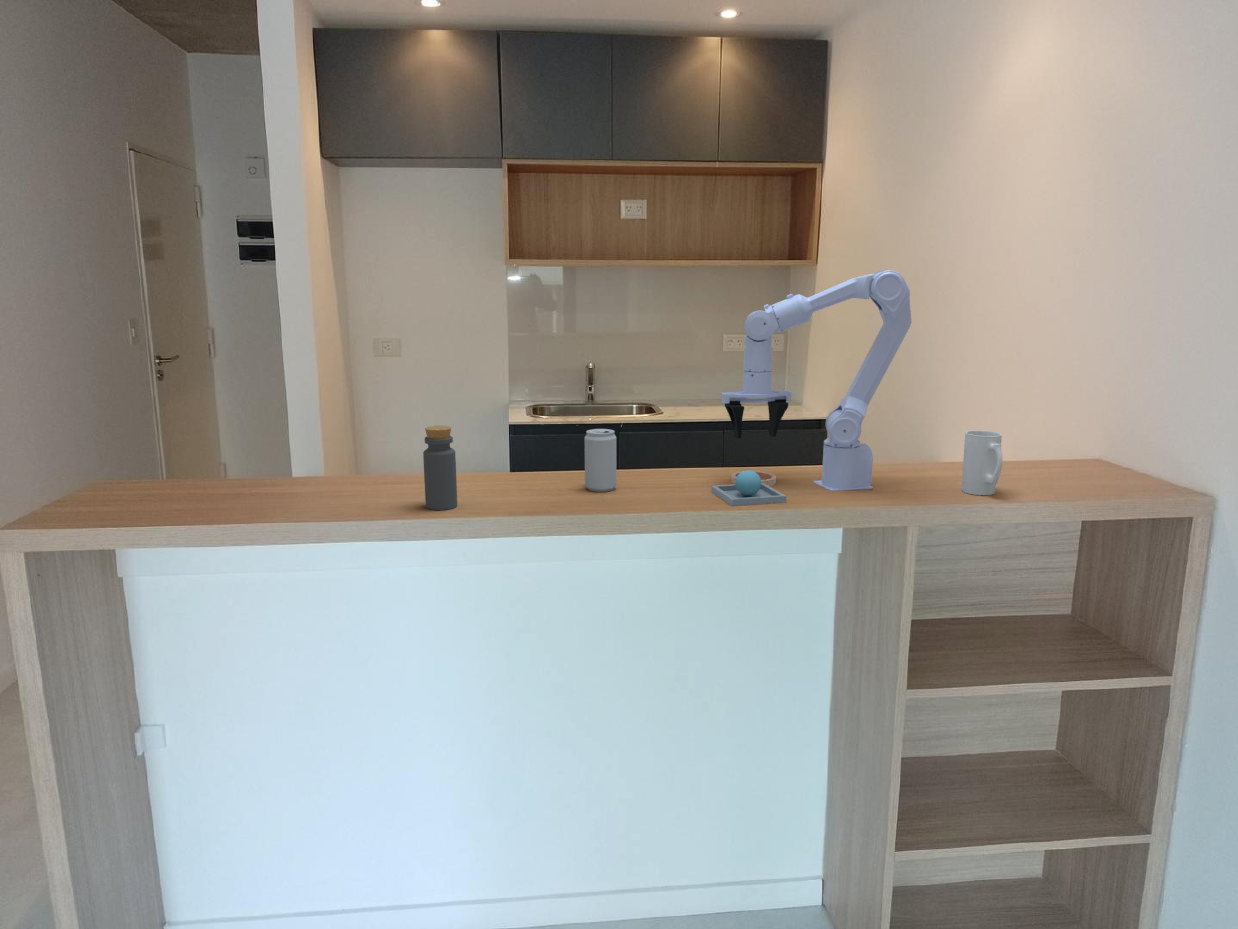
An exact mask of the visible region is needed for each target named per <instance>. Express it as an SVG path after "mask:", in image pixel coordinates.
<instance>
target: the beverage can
mask: <svg viewBox="0 0 1238 929" xmlns="http://www.w3.org/2000/svg"><path fill="white" fill-rule="evenodd" d="M585 432H586V435H585V436H584V486H585V488H587V489H588V491H589V492H598V493H599V492H600V493H601V492H603V493H604V492H611V491H613V490H614V489H615V488H616V487H617V436H616V434H615V430H613V429H608V428H594V429H593V428H592V429H587V430H586V431H585Z"/></svg>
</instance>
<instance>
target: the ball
mask: <svg viewBox="0 0 1238 929" xmlns="http://www.w3.org/2000/svg"><path fill="white" fill-rule="evenodd" d="M754 471H755V470H750V469H747V470H743V472H741V473H740V474H739V475H738V476H737V478H736V481H735V486H736V488H737V490H738V492H739V493H741V494H742V495H745V496H752V495H754V494H756V493H757V492H758V491H759V490H760V488H761V479H760V477H759V475H758V474H757V473H756V472H754Z"/></svg>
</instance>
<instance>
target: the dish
mask: <svg viewBox="0 0 1238 929" xmlns="http://www.w3.org/2000/svg"><path fill="white" fill-rule="evenodd" d="M743 471H744V470H743ZM743 471H741V470H740V471H736V472H732V473H731V476H730V482H731V483H732V484H735V481H736V478H737V476H738V475H739V474H740V473H741V472H743ZM753 471H754V472H756V473H757V474H758V475H759V477H760V479H761V483H764V484H766V485H768V486H770V487H773V486H774V485H776V483H777V476H776V475H775V474H774V473H771V472H766V471H762V470H761V471H759V470H753Z"/></svg>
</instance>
